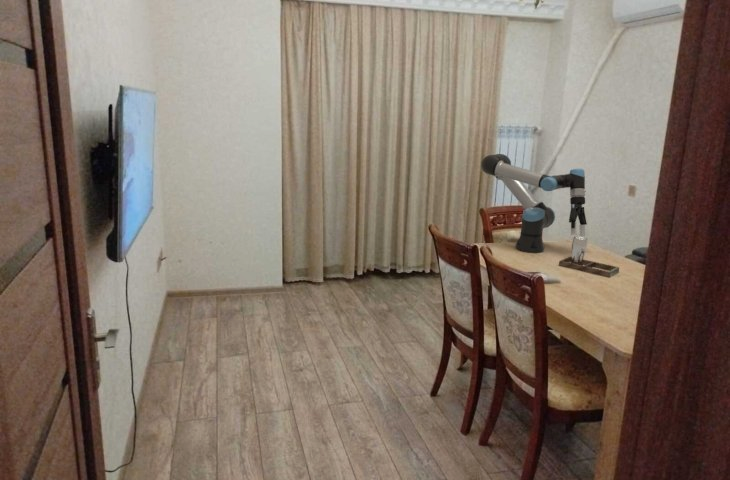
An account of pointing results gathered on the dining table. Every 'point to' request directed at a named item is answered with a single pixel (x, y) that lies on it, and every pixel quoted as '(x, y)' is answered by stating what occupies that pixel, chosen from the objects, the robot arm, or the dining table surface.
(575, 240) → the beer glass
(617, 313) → the dining table surface
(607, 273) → the two-cell rack
